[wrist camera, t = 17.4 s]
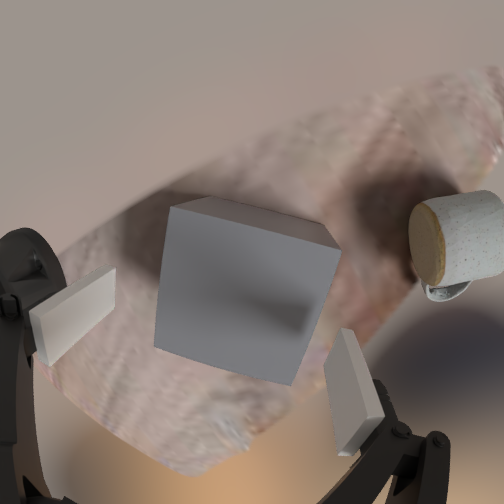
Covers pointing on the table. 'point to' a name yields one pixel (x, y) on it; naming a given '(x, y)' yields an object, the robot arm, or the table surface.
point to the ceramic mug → (457, 241)
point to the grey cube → (242, 287)
